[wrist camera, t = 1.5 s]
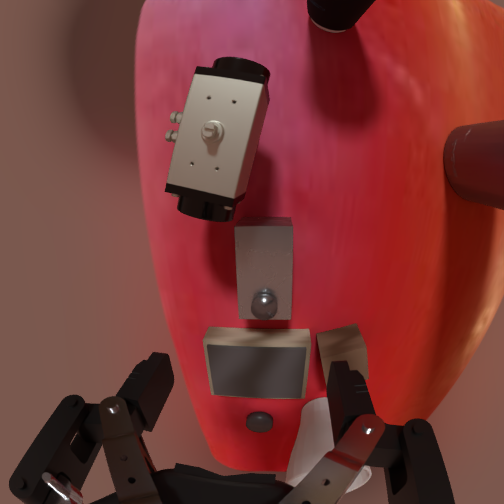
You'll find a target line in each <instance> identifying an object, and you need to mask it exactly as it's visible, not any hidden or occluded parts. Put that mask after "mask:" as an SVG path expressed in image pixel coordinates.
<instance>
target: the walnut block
mask: <svg viewBox="0 0 504 504" xmlns="http://www.w3.org/2000/svg"><path fill="white" fill-rule="evenodd" d="M316 335H317V340H318V345H319V351H320V357H321V362H322V367H323V372H324V377H325V382H326V387H327V381H328V376H329V371H330V365H331V362H332V361H345V360H347V362H348V365H349V368H350V370H358V371H359V372H360V373H361V374H362V375H363V376H364V379H365V380H366V379H369V377H368V361H367V348H366V345H365V342H364V340H363V338H362V335H361V333H360V331H359V328H358V326H357V324H352V325H348V326H345V327H341V328H337V329H333V330H329V331H325V332H321V333H317V334H316Z"/></svg>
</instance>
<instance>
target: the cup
mask: <svg viewBox="0 0 504 504" xmlns="http://www.w3.org/2000/svg"><path fill="white" fill-rule="evenodd" d="M333 448H334V441H333V433H332V426H331V419H330V412H329V406H328V399H327V398H326V397H324V398H318V399H314V400H312V401H310V402H308V403H307V404H305V406H304V407H303V408H302V412H301V422H300V427H299V431H298V435H297V438H296V441H295V444H294V447H293V450H292V453H291V457H290V460H289V464H288V468H287V473H286V481H285V483H287V484H289V485H292V486H293V487H296V486H297V485H298V484H299V483H300V482H301V481H302V480H303V478H304V477H305V476H306V475H307V474H308V473H309V472H310V471H311V470H312V469H313V468H314V466H315V465H316V464H317V463H318V462H319V461H320V460H321V459H322V457H323V456H324V455H325V454H326V453H327V452H328V451H332V450H333ZM371 475H372V473H371V469H370V466H364V467H363V469H362V470H361V472H360V473H359V475H358V476H357V478H356V479H355V480H354V482H353V483H352V484H351V486H350V487H349V489H348V490H347V491H346V493H347V492H350V491H352V490H354V489H357V488H359V487H360V486H362V485H363V484H365V483H366V482H367V481H368V480H369V479H370V477H371Z"/></svg>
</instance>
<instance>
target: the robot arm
mask: <svg viewBox="0 0 504 504" xmlns="http://www.w3.org/2000/svg"><path fill="white" fill-rule="evenodd" d="M444 165H445V170H446V175H447V177H448V180H449V182H450V184H451V186H452V188H453V189H454V190H455V192H456V193H457V194H458V195H459V196H460V197H462V198H463V199H466V200H468V201H472V202H476V203H480V204H484V205H487V206H491V207H494V208H498V209H501V210H504V120H500V121H492V122H485V123H477V124H471V125H465V126H460V127H457V128H456V129H454V130H453V131H452V132H451V134H450V135H449V136H448V139H447V141H446V144H445V149H444ZM173 384H174V375H173V371H172V366H171V362H170V358H169V355H168V354H166V353H158V352H153V353H152V354H151V356H150V357H149V359H148V360H143V361H142V362H140V363H139V364H137V365H136V366H135V368H134V369H133V371H132V373H131V374H130V375H129V377H128V378H127V379H126V381H125V382H124V384H123V386H122V387H121V388H120V390H119V391H118V393H117V394H116V396H112V397H107V398H105V399H104V400H102V401H101V403H100V404H90V403H85V401H84V399H83V398H82V397H81V396H79V395H70V396H67V397H65V398H64V399H63V400H62V401H61V403H60V404H59V405H58V407H57V408H56V410H55V411H54V413H53V414H52V415H51V417H50V418H49V420H48V421H47V422H46V424H45V425H44V427H43V428H42V430H41V431H40V432H39V434H38V435H37V437H36V438H35V440H34V442H33V443H32V444H31V446H30V447H29V449H28V450H27V452H26V454H25V455H24V457H23V458H22V460H21V461H20V463H19V465H18V466H17V468H16V470H15V471H14V473H13V475H12V476H11V478H10V480H9V488H10V490H11V492H12V493H13V494H14V495H15V496H16V497H17V498H18V499H20V500H21V501H22V502H24V504H83V496H82V493H81V492H80V490H81V488H82V486H83V484H84V481H85V479H86V477H87V475H88V473H89V471H90V469H91V467H92V465H93V463H94V460H95V458H96V456H97V454H98V452H99V450H100V448H101V446H102V444H103V448H104V452H105V456H106V460H107V463H108V467H109V471H110V474H111V478H112V481H113V484H114V487H115V490H116V492H115V493H112V494H110V495H108V496H106V497H104V498H101V499H99V500H97V501H94V502H92V503H90V504H337V503H338V502H339V501H340V499H341V498H342V497H343V495H344V494H345V493H346V491H347V490H348V489H349V487H350V486H351V484H352V483H353V482H354V480H355V479H356V478H357V476H358V475H359V473H360V472H361V470H362V469H363V467H364V466H374V467H384V472H385V479H386V486H387V494H388V502H389V504H455V502H454V497H453V493H452V489H451V485H450V482H449V478H448V475H447V471H446V468H445V465H444V461H443V458H442V455H441V452H440V449H439V446H438V443H437V440H436V437H435V435H434V432H433V429H432V426H431V425H430V424H429V423H428V422H427V421H425V420H423V419H412V420H410V421H408V422H407V423H406V424H405V425H404V426H399V425H390V424H386V423H384V421H383V420H382V419H381V418H380V417H379V416H376V414H375V410H374V407H373V404H372V401H371V398H370V395H369V392H368V388H367V386H366V382H365V379H364V376H363V375H362V374H361V373H360V372H359V371H358V370H350V368H349V365H348V362H347V360H345V361H332V362H331V365H330V371H329V376H328V381H327V399H328V406H329V412H330V419H331V426H332V433H333V441H334V448H333V450H332V451H328V452H327V453H326V454H325V455H324V456H323V457H322V459H321V460H320V461H319V462H318V463H317V464H316V465H315V466H314V468H313V469H312V470H311V471H310V472H309V473H308V474H307V475H306V476H305V477H304V478H303V480H302V481H301V482H300V483H299V484H298V485H297V486H296V487H293V486H292V485H289V484H287V483H285V482H281V481H277V480H275V477H276V475H275V474H254V473H249V474H240V475H231V476H221V475H218V474H216V473H213V472H210V471H208V470H205V469H202V468H200V467H194V466H189V465H184V464H179V463H176V465H175V468H174V469H165V470H160V471H157V470H156V468H155V466H154V465H153V462H152V460H151V457H150V455H149V453H148V450H147V448H146V445H145V442H144V440H143V437H142V435H141V434H142V432H143V430H146V431H149V432H152V430H153V428H154V426H155V423H156V421H157V419H158V417H159V415H160V413H161V411H162V409H163V407H164V404H165V402H166V400H167V398H168V396H169V394H170V392H171V390H172V387H173ZM76 432H77V434H76ZM75 434H76V436H75ZM74 436H75V438H74V440H73V441H72V439H73V437H74ZM71 441H72V443H71ZM70 443H71V445H70Z"/></svg>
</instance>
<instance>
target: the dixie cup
mask: <svg viewBox="0 0 504 504" xmlns="http://www.w3.org/2000/svg"><path fill="white" fill-rule="evenodd" d="M374 1H375V0H307V9H308V14H309V16H310V18H311V20H312V22H313V23H314V24H315V25H316V26H317V27H319V28H321V29H322V30H325V31H328V32H333V33H339V32H343V31H346V30H347V29H349V28H351V27H352V26H354V24H355V23H356V22H357V21H358V20H359V18H360V17H361V16H362V15H363V14H364V13H365V12H366V10H367V9H368V8H369V7H370V6H371V5H372V4H373V2H374Z"/></svg>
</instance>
